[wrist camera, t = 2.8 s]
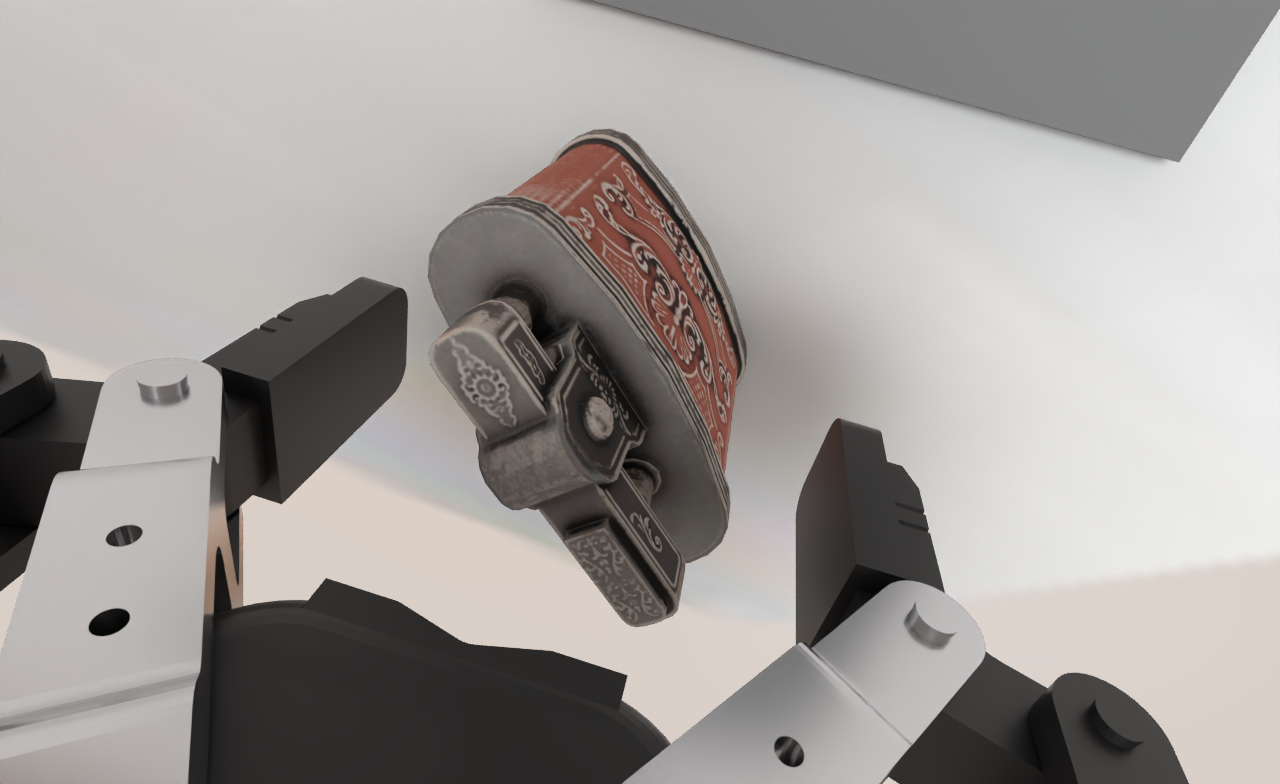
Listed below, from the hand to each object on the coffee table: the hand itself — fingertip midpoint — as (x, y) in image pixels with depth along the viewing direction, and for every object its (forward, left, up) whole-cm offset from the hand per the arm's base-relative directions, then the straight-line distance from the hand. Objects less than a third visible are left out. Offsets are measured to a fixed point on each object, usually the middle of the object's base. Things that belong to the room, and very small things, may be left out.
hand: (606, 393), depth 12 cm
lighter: (0, 0, -8) cm, 8 cm away
